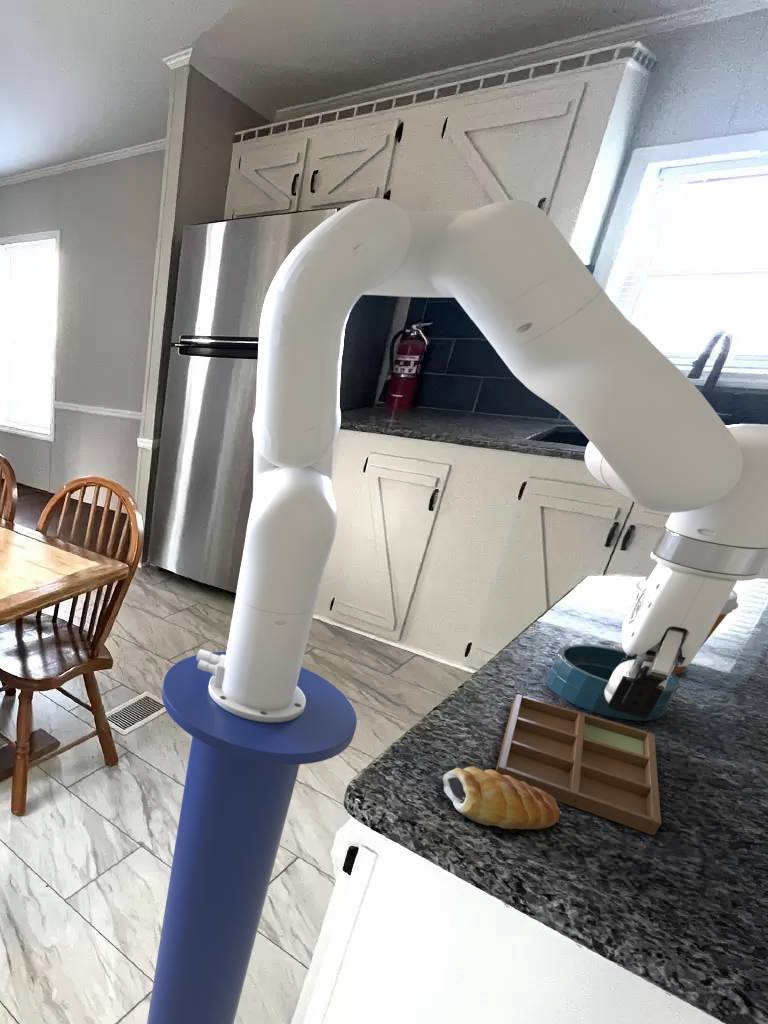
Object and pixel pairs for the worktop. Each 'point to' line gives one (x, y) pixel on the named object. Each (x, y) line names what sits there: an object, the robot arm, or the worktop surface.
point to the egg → (620, 677)
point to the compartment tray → (583, 762)
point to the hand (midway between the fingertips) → (627, 701)
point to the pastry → (499, 799)
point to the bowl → (596, 679)
